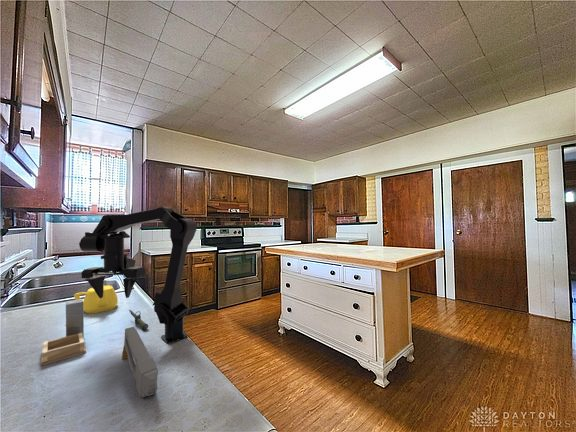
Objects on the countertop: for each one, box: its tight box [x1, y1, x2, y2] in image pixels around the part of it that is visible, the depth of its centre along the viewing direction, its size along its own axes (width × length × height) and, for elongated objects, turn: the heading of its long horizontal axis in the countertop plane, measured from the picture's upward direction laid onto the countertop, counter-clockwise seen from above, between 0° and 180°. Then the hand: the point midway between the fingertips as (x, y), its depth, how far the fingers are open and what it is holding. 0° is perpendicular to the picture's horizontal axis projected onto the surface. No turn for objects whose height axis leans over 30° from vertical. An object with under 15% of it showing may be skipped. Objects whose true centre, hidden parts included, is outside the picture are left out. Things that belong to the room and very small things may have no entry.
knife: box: [128, 309, 149, 331], centre depth 96 cm, size 19×2×5 cm, turn 49°
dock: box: [40, 333, 87, 366], centre depth 75 cm, size 10×10×3 cm
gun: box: [121, 326, 159, 399], centre depth 63 cm, size 3×25×15 cm, turn 44°
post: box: [65, 298, 85, 338], centre depth 86 cm, size 4×4×12 cm
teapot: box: [73, 283, 119, 315], centre depth 114 cm, size 22×16×11 cm
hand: (114, 297), depth 86 cm, fingers open, 9 cm apart
